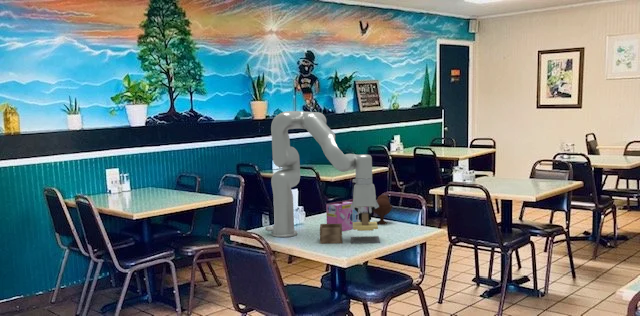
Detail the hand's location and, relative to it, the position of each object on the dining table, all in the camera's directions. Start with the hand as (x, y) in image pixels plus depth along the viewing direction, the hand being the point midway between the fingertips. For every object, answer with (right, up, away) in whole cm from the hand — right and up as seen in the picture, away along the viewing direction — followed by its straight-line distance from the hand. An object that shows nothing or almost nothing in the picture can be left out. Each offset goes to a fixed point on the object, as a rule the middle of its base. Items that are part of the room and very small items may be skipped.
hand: (365, 221), depth 268 cm
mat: (0, -9, +1) cm, 9 cm away
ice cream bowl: (+12, -6, +38) cm, 41 cm away
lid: (0, -3, 0) cm, 3 cm away
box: (-15, -9, +1) cm, 18 cm away
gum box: (-6, -7, +29) cm, 31 cm away
